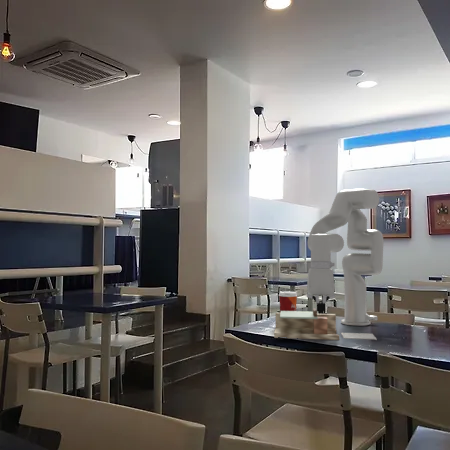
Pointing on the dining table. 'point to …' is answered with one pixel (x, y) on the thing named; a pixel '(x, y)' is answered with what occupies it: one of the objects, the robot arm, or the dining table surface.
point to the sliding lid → (299, 314)
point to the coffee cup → (288, 301)
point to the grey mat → (358, 336)
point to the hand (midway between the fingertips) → (320, 313)
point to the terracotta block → (320, 325)
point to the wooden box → (304, 328)
